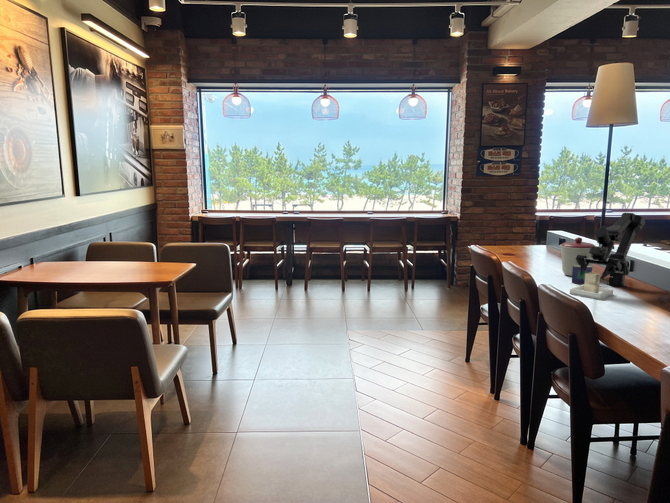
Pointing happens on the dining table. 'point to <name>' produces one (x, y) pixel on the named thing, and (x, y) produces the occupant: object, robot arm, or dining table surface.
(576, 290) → the tray
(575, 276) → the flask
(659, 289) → the dining table surface
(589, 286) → the maple block
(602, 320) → the dining table surface
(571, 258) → the canister
